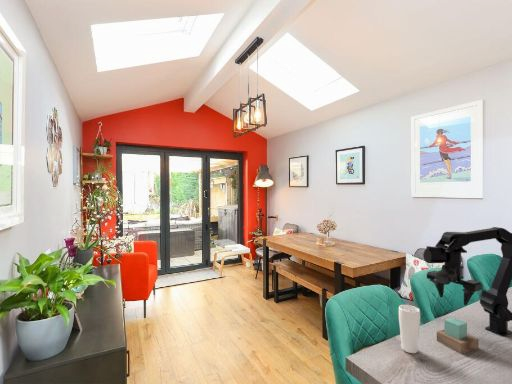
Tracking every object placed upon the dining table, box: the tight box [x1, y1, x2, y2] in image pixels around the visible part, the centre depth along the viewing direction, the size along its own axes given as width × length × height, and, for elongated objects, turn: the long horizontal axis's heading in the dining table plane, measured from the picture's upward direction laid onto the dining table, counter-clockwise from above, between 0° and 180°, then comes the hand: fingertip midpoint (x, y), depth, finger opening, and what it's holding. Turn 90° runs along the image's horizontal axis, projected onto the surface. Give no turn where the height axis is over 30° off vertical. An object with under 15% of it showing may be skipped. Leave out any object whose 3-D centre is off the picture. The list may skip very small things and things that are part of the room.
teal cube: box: [443, 316, 468, 339], centre depth 103 cm, size 5×5×5 cm
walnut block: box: [436, 329, 480, 355], centre depth 102 cm, size 9×9×4 cm
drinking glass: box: [398, 304, 421, 354], centre depth 99 cm, size 7×7×15 cm
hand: (453, 301), depth 113 cm, fingers open, 9 cm apart
